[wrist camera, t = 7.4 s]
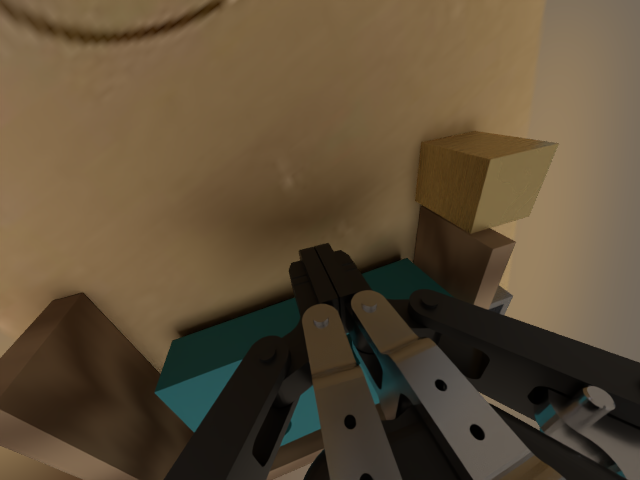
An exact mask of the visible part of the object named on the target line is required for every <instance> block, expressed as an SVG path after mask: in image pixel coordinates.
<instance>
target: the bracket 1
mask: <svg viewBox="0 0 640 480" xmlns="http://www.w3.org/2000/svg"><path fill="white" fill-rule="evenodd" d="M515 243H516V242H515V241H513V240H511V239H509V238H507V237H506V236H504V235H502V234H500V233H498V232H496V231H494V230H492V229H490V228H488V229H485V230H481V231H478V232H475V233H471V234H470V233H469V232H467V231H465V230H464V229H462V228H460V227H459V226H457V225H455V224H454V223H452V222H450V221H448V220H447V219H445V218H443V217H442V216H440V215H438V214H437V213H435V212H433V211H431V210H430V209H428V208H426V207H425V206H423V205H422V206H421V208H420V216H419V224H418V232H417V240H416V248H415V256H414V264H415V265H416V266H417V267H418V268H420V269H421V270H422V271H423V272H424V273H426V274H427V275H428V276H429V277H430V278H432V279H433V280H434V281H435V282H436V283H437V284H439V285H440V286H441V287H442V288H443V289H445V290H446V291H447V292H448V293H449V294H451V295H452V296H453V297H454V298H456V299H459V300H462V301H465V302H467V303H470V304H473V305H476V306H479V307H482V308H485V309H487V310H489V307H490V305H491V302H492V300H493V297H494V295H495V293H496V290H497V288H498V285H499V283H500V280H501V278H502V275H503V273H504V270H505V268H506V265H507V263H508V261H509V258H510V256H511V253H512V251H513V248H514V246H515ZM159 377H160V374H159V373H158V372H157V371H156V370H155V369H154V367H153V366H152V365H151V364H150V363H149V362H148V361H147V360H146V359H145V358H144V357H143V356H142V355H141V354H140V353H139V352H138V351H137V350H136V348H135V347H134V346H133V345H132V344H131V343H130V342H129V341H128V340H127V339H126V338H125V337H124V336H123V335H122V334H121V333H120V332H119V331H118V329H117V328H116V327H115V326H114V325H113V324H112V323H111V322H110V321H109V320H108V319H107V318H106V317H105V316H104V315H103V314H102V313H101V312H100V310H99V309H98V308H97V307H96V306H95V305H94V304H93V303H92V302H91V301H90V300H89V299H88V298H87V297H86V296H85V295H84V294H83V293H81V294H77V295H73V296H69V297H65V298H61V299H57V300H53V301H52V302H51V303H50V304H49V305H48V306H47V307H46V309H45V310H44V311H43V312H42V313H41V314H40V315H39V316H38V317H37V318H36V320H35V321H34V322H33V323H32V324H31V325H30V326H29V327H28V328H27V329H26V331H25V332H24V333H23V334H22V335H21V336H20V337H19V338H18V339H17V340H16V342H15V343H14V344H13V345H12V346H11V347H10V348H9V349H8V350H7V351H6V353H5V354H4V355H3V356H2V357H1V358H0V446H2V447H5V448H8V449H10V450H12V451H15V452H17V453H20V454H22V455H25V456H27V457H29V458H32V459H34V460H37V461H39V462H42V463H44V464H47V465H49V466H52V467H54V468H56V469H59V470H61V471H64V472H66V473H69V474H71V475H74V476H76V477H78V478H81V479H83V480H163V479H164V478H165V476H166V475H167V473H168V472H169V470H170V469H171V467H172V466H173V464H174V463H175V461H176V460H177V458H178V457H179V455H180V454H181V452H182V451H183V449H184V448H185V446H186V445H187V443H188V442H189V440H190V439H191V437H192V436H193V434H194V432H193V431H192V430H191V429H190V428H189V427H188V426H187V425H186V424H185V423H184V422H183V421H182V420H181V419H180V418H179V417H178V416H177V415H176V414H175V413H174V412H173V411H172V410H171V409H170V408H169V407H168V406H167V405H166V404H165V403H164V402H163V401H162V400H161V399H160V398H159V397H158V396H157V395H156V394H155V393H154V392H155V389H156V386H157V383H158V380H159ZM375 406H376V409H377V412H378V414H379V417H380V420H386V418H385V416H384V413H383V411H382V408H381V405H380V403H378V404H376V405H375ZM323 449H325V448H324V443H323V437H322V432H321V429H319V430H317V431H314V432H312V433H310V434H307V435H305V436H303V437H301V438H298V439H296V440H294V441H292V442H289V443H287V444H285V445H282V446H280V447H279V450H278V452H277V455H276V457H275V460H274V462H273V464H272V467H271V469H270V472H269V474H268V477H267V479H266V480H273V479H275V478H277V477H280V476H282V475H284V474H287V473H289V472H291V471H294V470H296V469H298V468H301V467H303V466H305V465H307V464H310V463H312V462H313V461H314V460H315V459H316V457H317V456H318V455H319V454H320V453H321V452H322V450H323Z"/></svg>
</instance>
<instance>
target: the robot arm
mask: <svg viewBox="0 0 640 480" xmlns="http://www.w3.org/2000/svg"><path fill="white" fill-rule="evenodd" d="M299 256H300V261H297V262H293V263H291V265H290V268H289V274H290V279H291V283H292V288H293V292H294V296H295V300H296V303H297V307H298V310H299V314H300V320H299V323H298V324H297V326H296V327H295V328H294V329H293V330H292V331H291V332H290V333H288V334H287V335H285V336H284V337H282V338H281V337H279V336H274V335H271V336H266V337H263V338H261V339H259V340H258V341H256V342H255V343H254V344H253V345H252V346H251V348H250V349H249V351H248V352H247V354H246V355H245V357H244V358H243V360H242V361H241V363H240V364H239V366H238V367H237V369H236V370H235V372H234V373H233V375H232V376H231V378H230V379H229V381H228V382H227V384H226V385H225V387H224V388H223V390H222V392H221V393H220V395H219V396H218V398H217V399H216V401H215V402H214V404H213V405H212V407H211V408H210V410H209V411H208V413H207V414H206V416H205V417H204V419H203V420H202V422H201V423H200V425H199V426H198V428H197V429H196V431H195V432H194V434H193V436H192V437H191V439H190V440H189V442H188V443H187V445H186V446H185V448H184V449H183V451H182V452H181V454H180V455H179V457H178V458H177V460H176V461H175V463H174V464H173V466H172V467H171V469H170V470H169V472H168V473H167V475H166V476H165V478H164V479H163V480H266V479H267V477H268V474H269V472H270V469H271V467H272V464H273V462H274V460H275V457H276V455H277V452H278V450H279V447H280V445H281V442H282V440H283V438H284V435H285V433H286V430H287V428H288V425H289V423H290V420H291V418H292V416H293V413H294V411H295V408H296V406H297V403H298V401H299V398H300V395H302V394H303V393H304V392H305V391H306V390H308V389H309V388H310V387H311V386H312V385H313V387H314V393H315V398H316V404H317V410H318V415H319V421H320V426H321V432H322V437H323V443H324V448H325V449H323V450H322V452H321V453H320V454H319V455H318V456H317V457H316V459H315V460H314V461H313V463H312V464H311V466H310V468H309V469H308V471H307V473H306V475H305V477H304V480H640V363H639V362H636V361H633V360H630V359H628V358H624V357H622V356H619V355H616V354H613V353H610V352H608V351H605V350H602V349H599V348H596V347H593V346H590V345H588V344H585V343H582V342H579V341H576V340H573V339H570V338H568V337H565V336H562V335H559V334H556V333H553V332H550V331H548V330H544V329H542V328H539V327H536V326H533V325H530V324H527V323H525V322H521V321H519V320H516V319H513V318H510V317H507V316H505V315H502V314H499V313H496V312H493V311H490V310H487V309H485V308H482V307H479V306H476V305H473V304H470V303H467V302H465V301H462V300H459V299H456V298H453V297H450V296H447V295H445V294H442V293H439V292H436V291H433V290H429V289H419V290H416V291H414V292H413V293H412V294H411V295H410V298H409V299H386V298H385V297H384V296H383V295H381V294H380V293H378V292H375V291H373V290H372V289H371V287H370V286H369V284H368V283H367V282H366V280H365V279H364V277H363V276H362V274H361V273H360V271H359V270H358V269H357V267H356V265H355V264H354V263H353V261H352V259H351V258H350V256H349V255H348V254H346V253H345V252H343V251H341V250H339V251H335V252H334V251H333V250H332V248H331V246H330V245H329V243H326V244H322V245H318V246H314V247H310V248H306V249H302V250H299ZM347 333H349V334H350V337H351V339H352V347H353V350H354V352H355V354H356V356H357V358H358V360H359V361H360V363H361V365H362V367H363V369H364V371H365V373H366V374H367V376H368V378H369V380H370V382H371V384H372V386H373V387H374V389H375V391H376V393H377V396H378V398H379V402H380V405H381V408H382V411H383V413H384V416H385V418H386V420H380V417H379V414H378V412H377V409H376V406H375V403H374V401H373V398H372V395H371V392H370V390H369V387H368V384H367V381H366V379H365V376H364V373H363V371H362V369H361V367H360V365H359V364H357V363H356V361H355V358H354V356H353V353H352V350H351V347H350V344H349V341H348V339H347V336H346V334H347ZM479 392H480V393H482V394H484V395H486V396H488V397H490V398H492V399H494V400H496V401H497V402H499V403H502V404H503V405H505V406H507V407H509V408H511V409H513V410H515V411H517V412H519V413H521V414H523V415H525V416H527V417H529V418H531V419H533V420H534V421H536V422H537V423H538V425H539V426H540V431H539V430H537V429H536V428H533V427H532V426H530V425H528V424H527V423H525V422H523V421H521V420H520V419H518V418H516V417H514V416H512V415H510V414H509V413H507V412H505V411H503V410H501V409H500V408H498V407H496V406H494V405H492V404H490V403H488V402H487V401H486V400H485V399H484V398H483V397H482V396H481V395H480V393H479Z"/></svg>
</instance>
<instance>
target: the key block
mask: <svg viewBox="0 0 640 480" xmlns="http://www.w3.org/2000/svg"><path fill="white" fill-rule="evenodd" d="M557 147H558V143H553V142H547V141H540V140H533V139H526V138H519V137H512V136H505V135H499V134H492V133H485V132H478V131H473V132H468V133H463V134H458V135H454V136H449V137H444V138H439V139H435V140H430V141H425V142H421V150H420V160H419V169H418V179H417V188H416V198H415V201H416V202H418V203H420V204H421V205H423V206H425V207H426V208H428V209H430V210H431V211H433V212H435V213H437V214H438V215H440V216H442V217H443V218H445V219H447V220H448V221H450V222H452V223H454V224H455V225H457V226H459V227H460V228H462V229H464V230H465V231H467V232H469V233H470V234H471V233H475V232H478V231H481V230H485V229H488V228H491V227H495V226H498V225H502V224H505V223H508V222H512V221H515V220H518V219H522V218H525V217H528V216H529V215H530V213H531V210H532V208H533V205H534V203H535V201H536V198H537V196H538V193H539V191H540V188H541V186H542V183H543V181H544V178H545V176H546V174H547V171H548V169H549V166H550V164H551V161H552V159H553V156H554V154H555V152H556V149H557Z"/></svg>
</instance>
